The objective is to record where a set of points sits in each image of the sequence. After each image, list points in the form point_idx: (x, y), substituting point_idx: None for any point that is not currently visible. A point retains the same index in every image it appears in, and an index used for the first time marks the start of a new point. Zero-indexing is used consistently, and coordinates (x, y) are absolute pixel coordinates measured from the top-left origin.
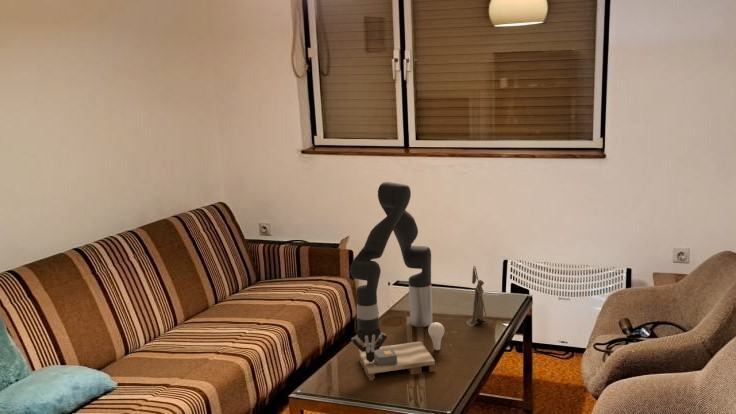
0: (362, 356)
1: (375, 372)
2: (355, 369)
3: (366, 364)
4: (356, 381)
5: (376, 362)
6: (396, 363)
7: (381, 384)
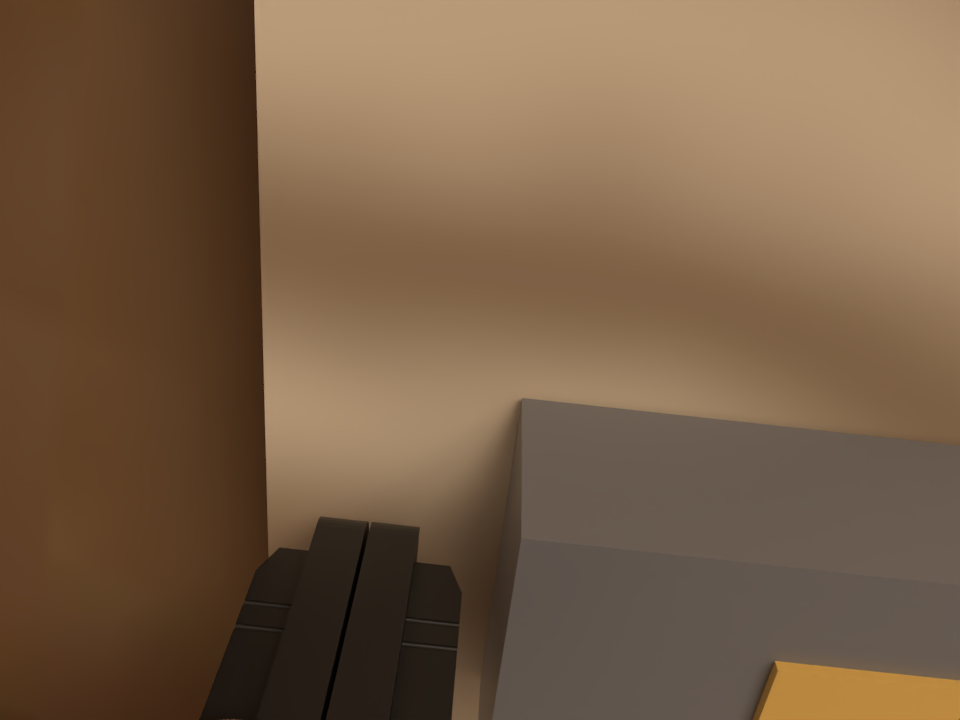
0: (272, 103)
1: None
2: (151, 105)
3: (279, 544)
4: (120, 529)
5: (492, 610)
6: None
7: None
